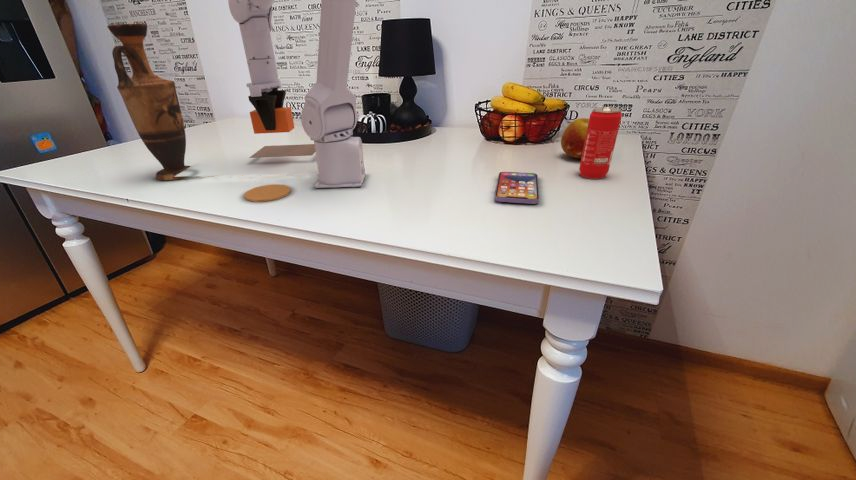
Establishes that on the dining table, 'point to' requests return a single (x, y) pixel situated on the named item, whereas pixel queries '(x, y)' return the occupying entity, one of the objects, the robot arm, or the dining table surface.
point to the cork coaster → (267, 193)
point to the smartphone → (517, 188)
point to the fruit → (575, 137)
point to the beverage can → (600, 142)
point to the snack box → (282, 121)
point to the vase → (150, 102)
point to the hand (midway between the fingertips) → (274, 127)
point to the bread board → (285, 151)
